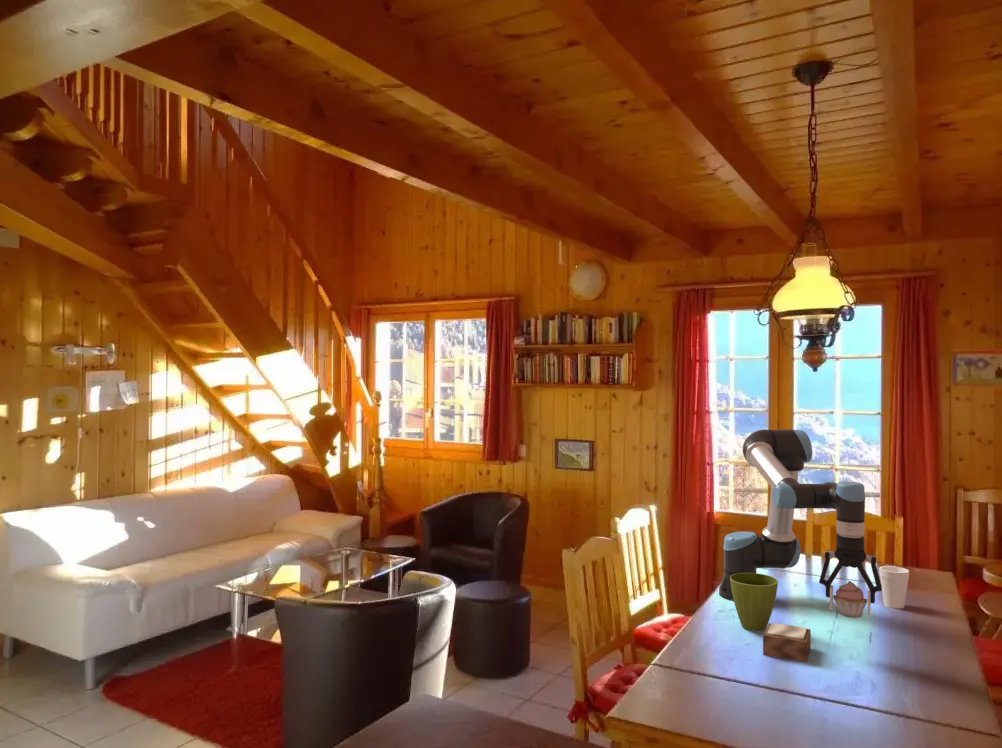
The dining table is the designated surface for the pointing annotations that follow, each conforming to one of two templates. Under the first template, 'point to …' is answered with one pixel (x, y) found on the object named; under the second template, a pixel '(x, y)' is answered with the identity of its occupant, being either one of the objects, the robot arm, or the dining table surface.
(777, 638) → the walnut base
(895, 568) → the foam cup
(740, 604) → the flower pot
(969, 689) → the dining table surface
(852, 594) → the cupcake
